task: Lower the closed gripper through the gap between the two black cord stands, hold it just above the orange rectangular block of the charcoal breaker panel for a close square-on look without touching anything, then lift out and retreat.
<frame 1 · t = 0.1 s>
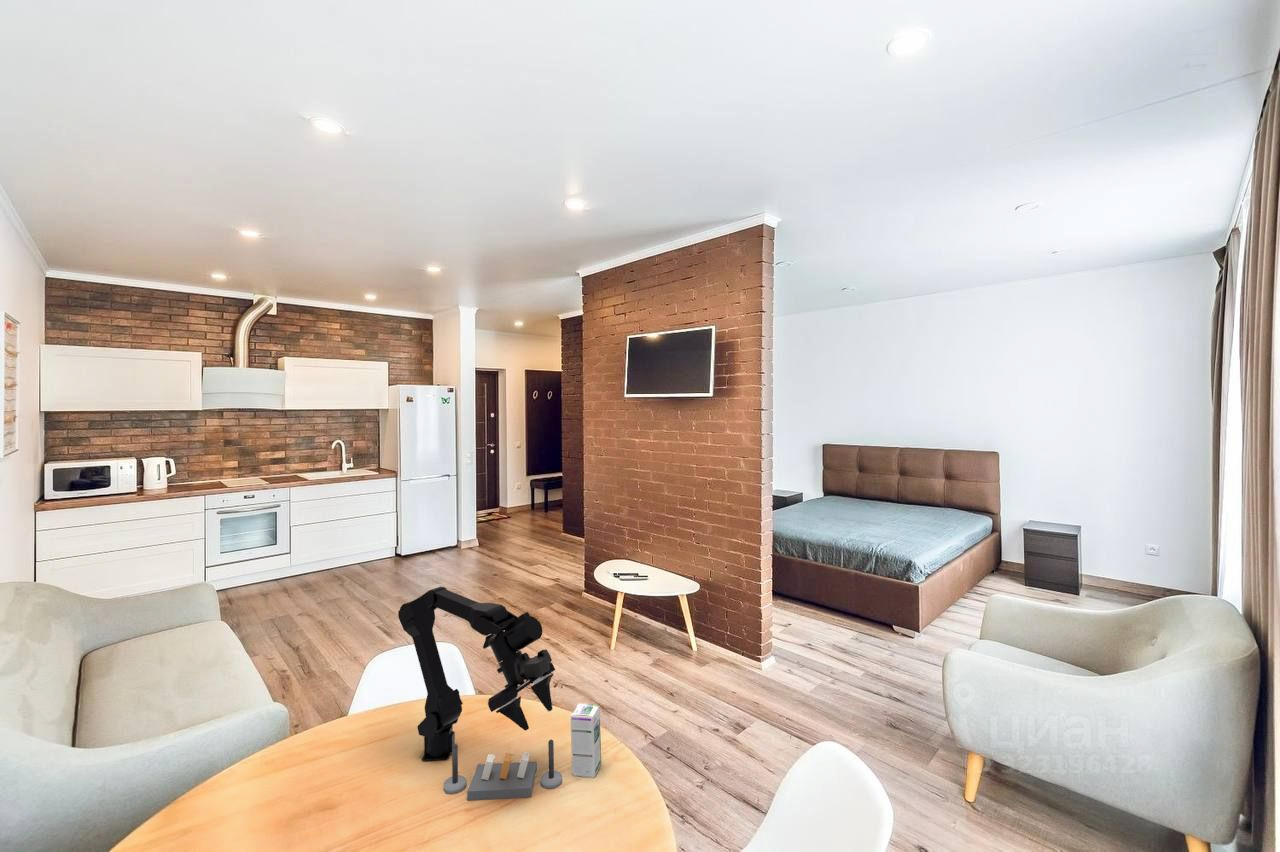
hand: (539, 719, 125), 15 cm above the table, tool tilted 35°, fingers open, 9 cm apart
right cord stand: (551, 782, 126), on the table
syrup box: (586, 770, 130), on the table
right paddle: (523, 765, 126), point 4 cm above the table, hinge at 15.0°
orange rectangular block: (505, 765, 125), point 4 cm above the table, hinge at 15.0°
breaker panel: (503, 784, 125), on the table
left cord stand: (455, 787, 125), on the table
left paddle: (488, 766, 125), point 4 cm above the table, hinge at 15.0°
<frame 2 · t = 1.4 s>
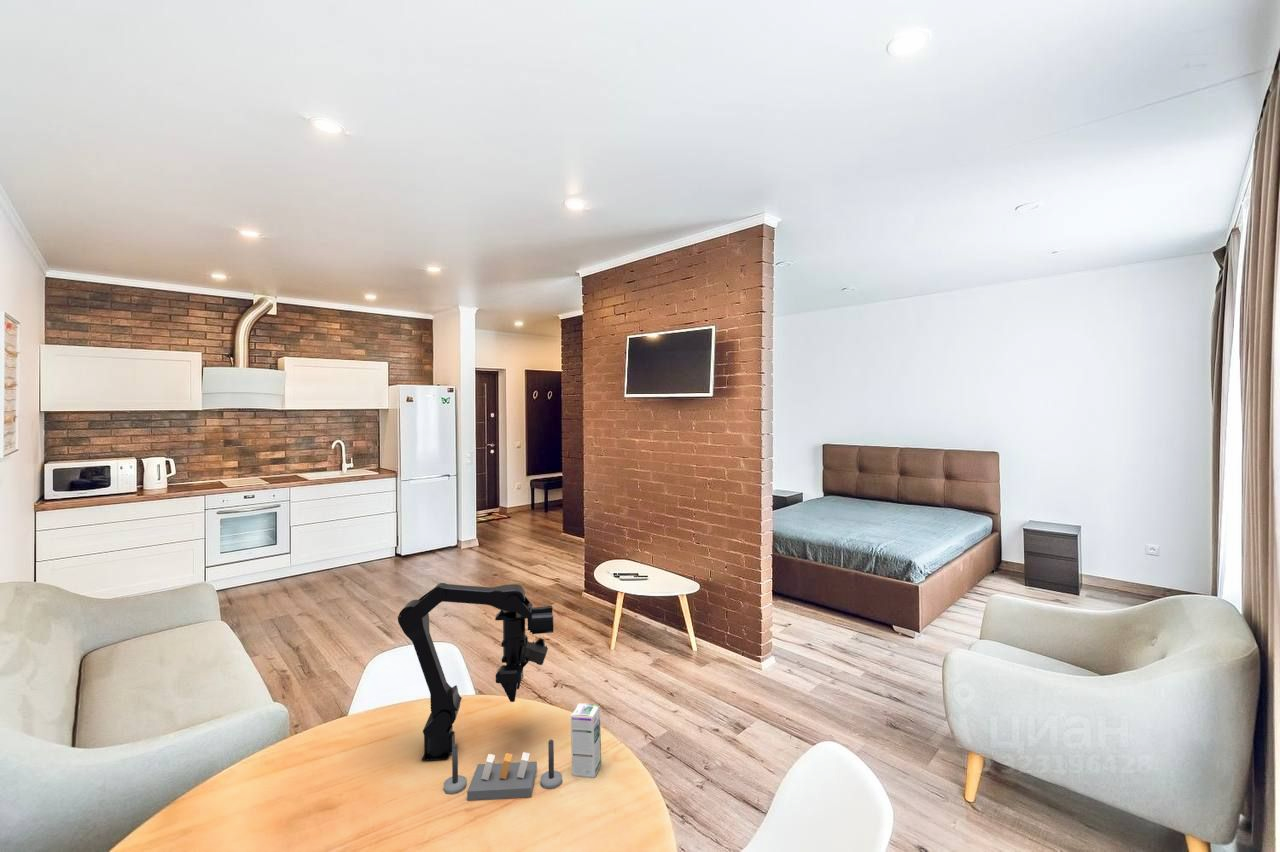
hand: (514, 695, 142), 13 cm above the table, tool pointing down, fingers open, 7 cm apart
nothing on the table moved.
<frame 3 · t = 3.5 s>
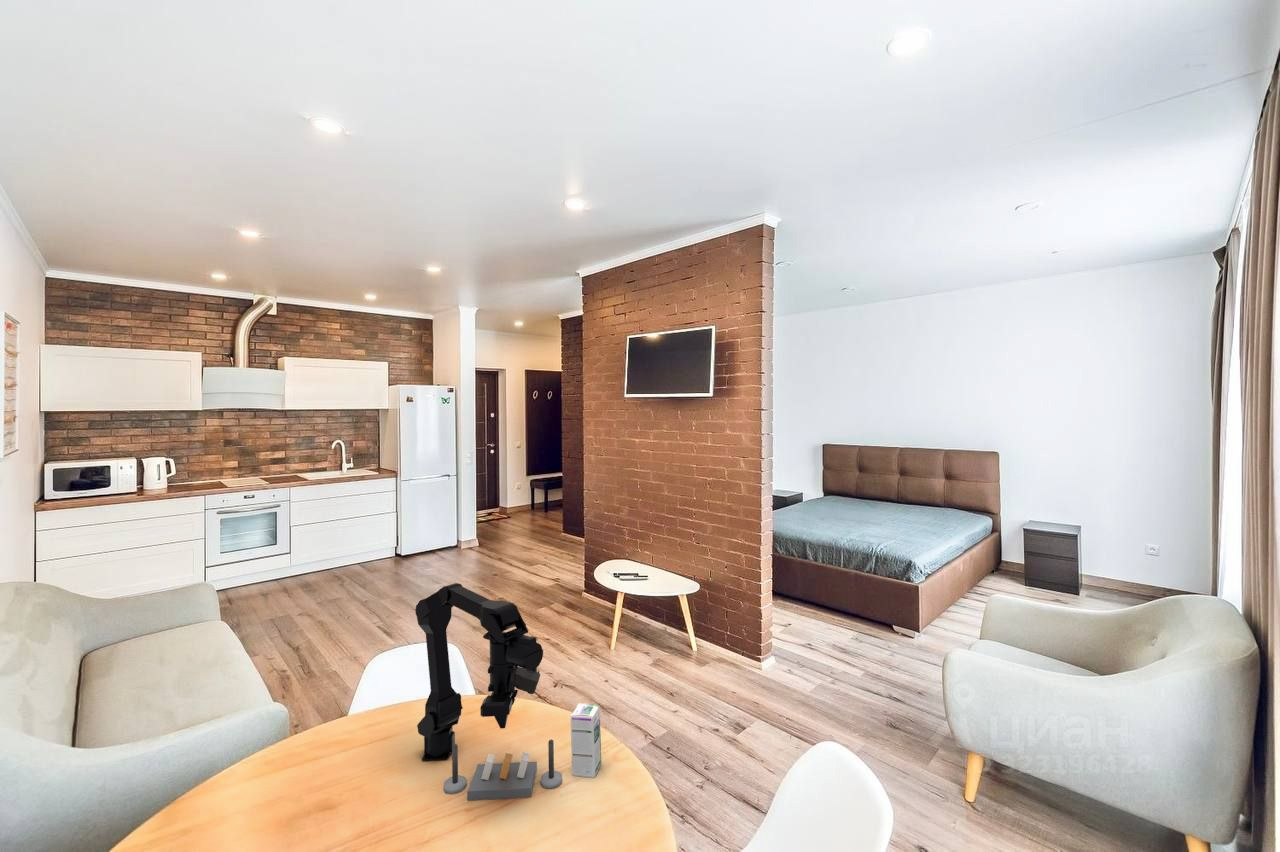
hand: (503, 727, 126), 13 cm above the table, tool pointing down, fingers closed
nothing on the table moved.
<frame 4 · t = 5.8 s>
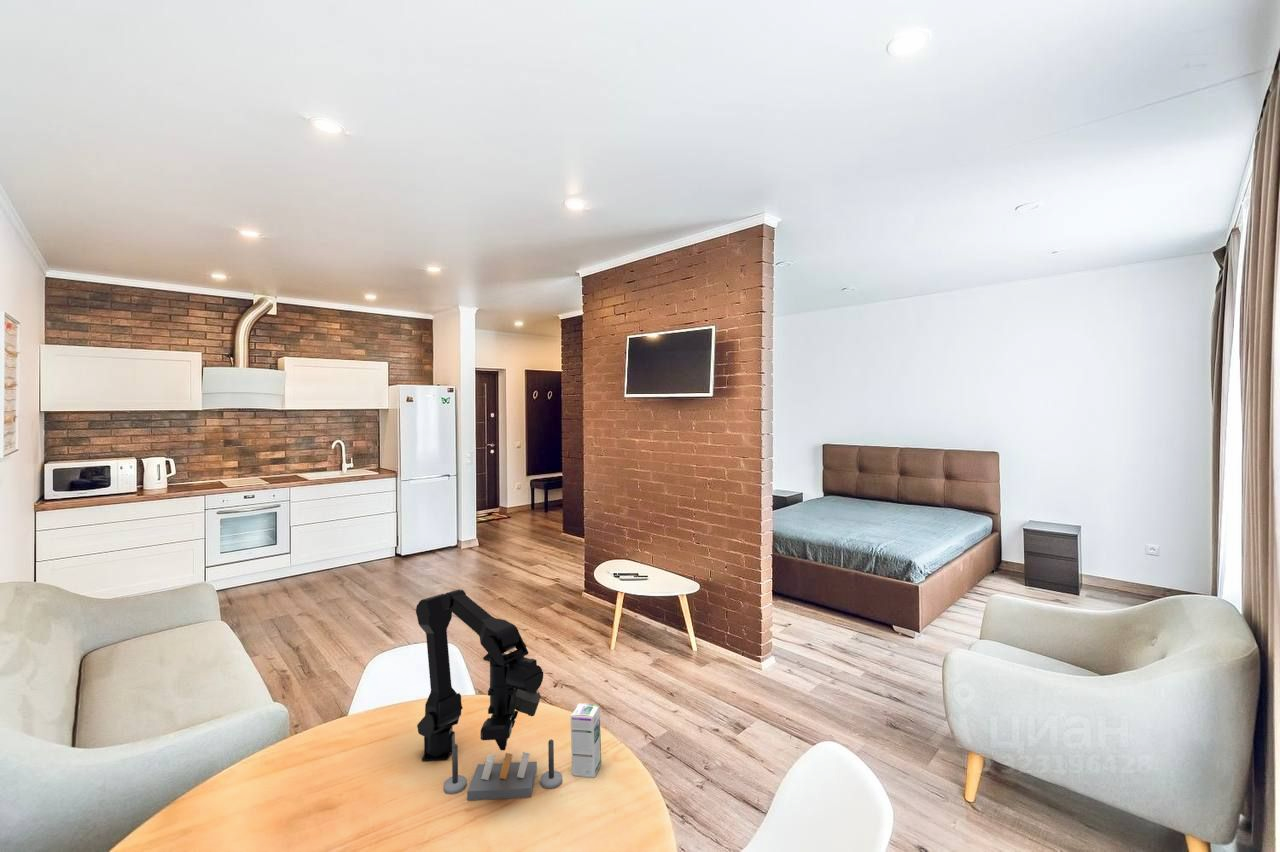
hand: (503, 749, 126), 8 cm above the table, tool pointing down, fingers closed
nothing on the table moved.
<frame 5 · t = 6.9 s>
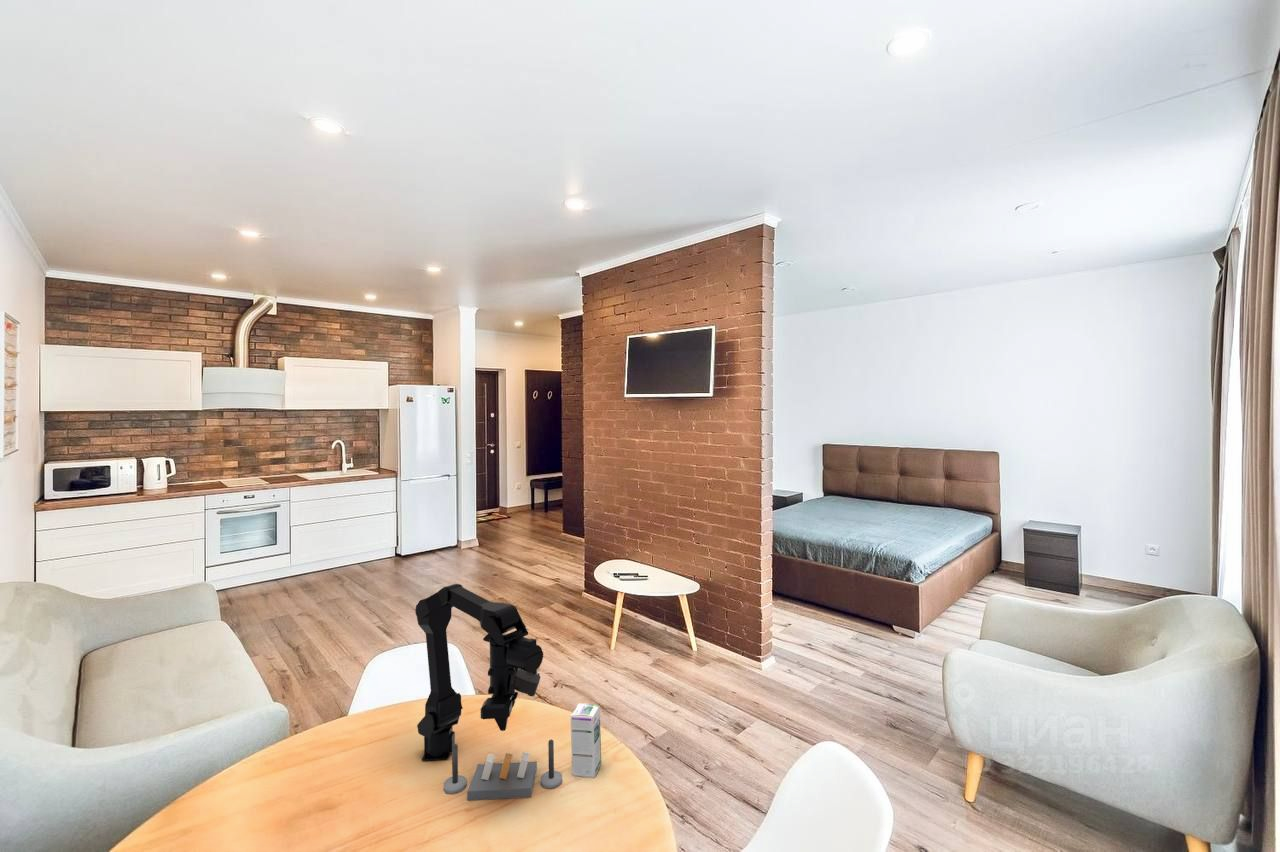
hand: (503, 729, 126), 13 cm above the table, tool pointing down, fingers closed
nothing on the table moved.
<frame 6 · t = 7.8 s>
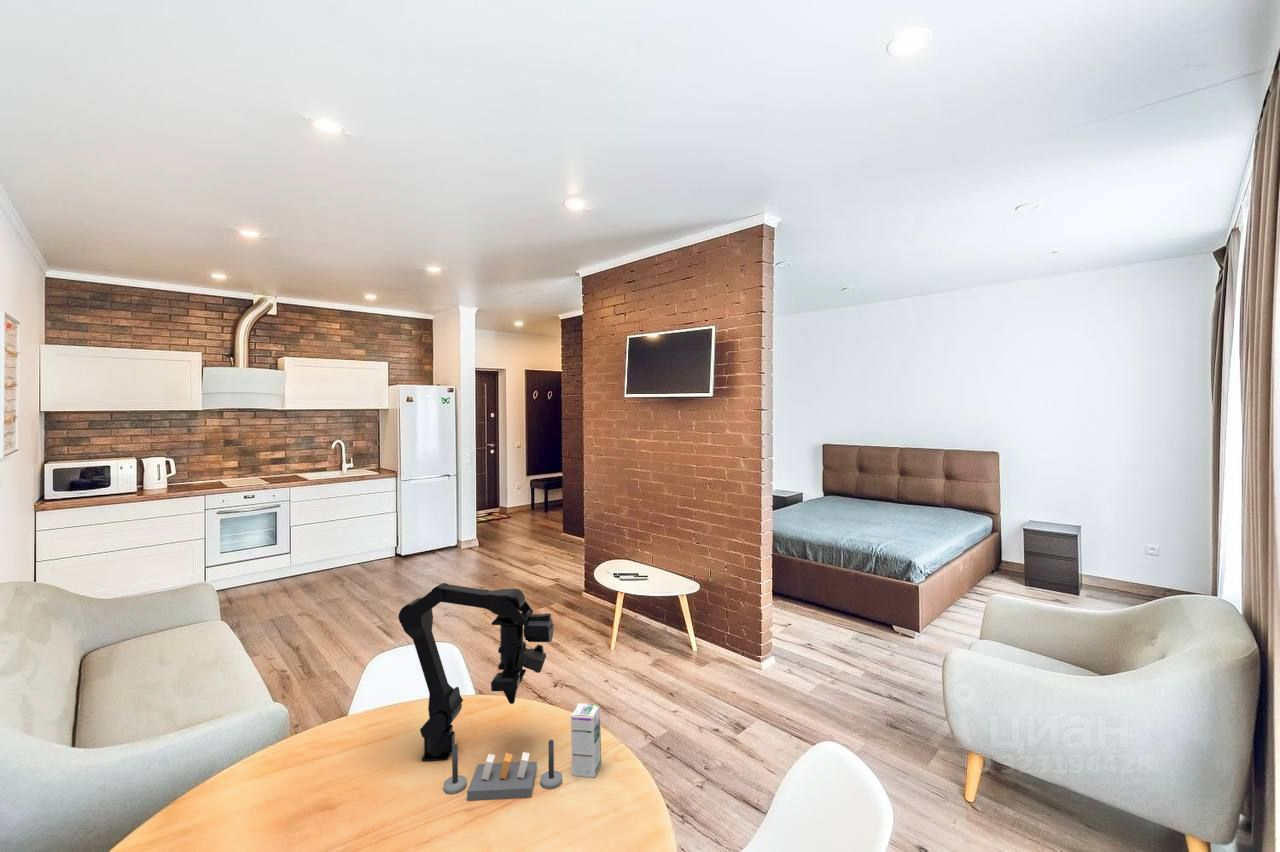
hand: (512, 703, 137), 13 cm above the table, tool pointing down, fingers closed
nothing on the table moved.
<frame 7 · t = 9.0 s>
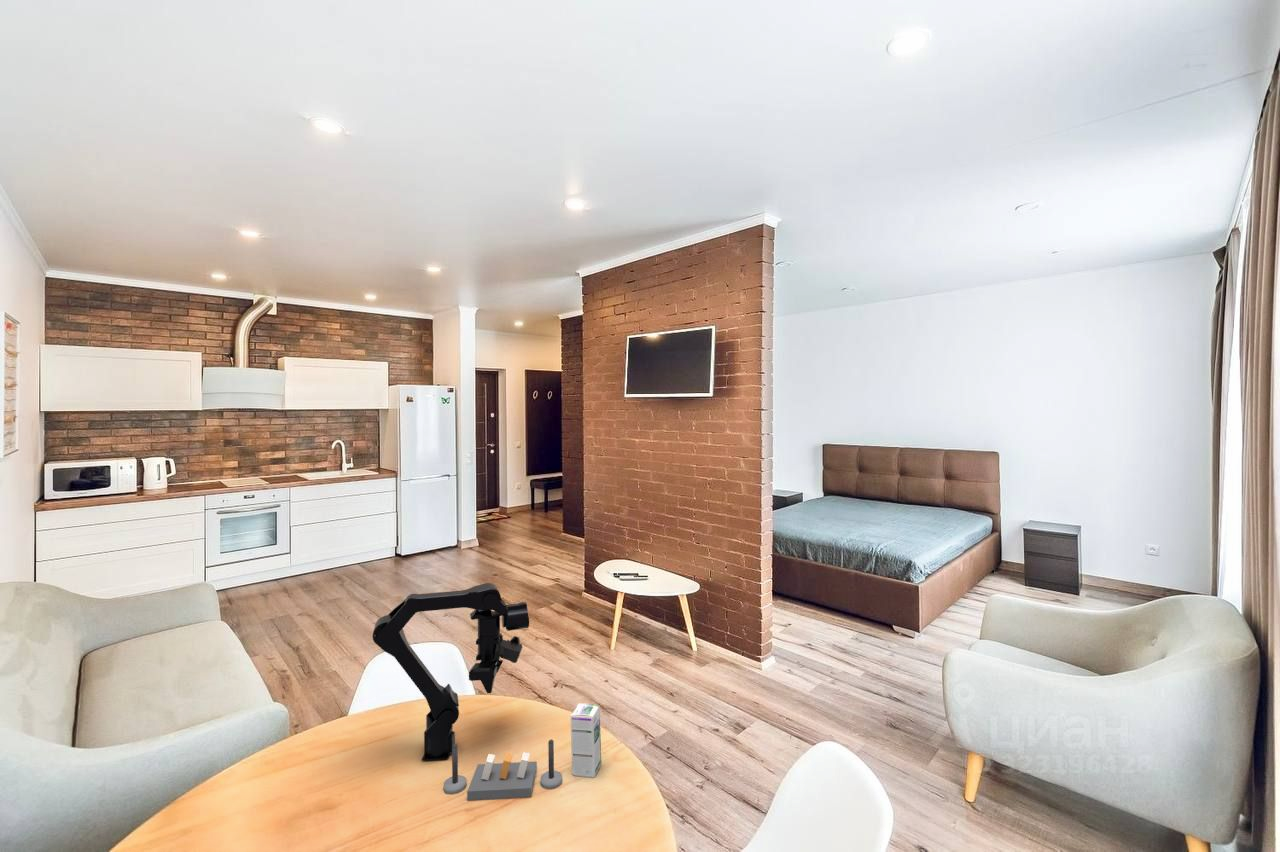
hand: (489, 692, 143), 13 cm above the table, tool pointing down, fingers closed
nothing on the table moved.
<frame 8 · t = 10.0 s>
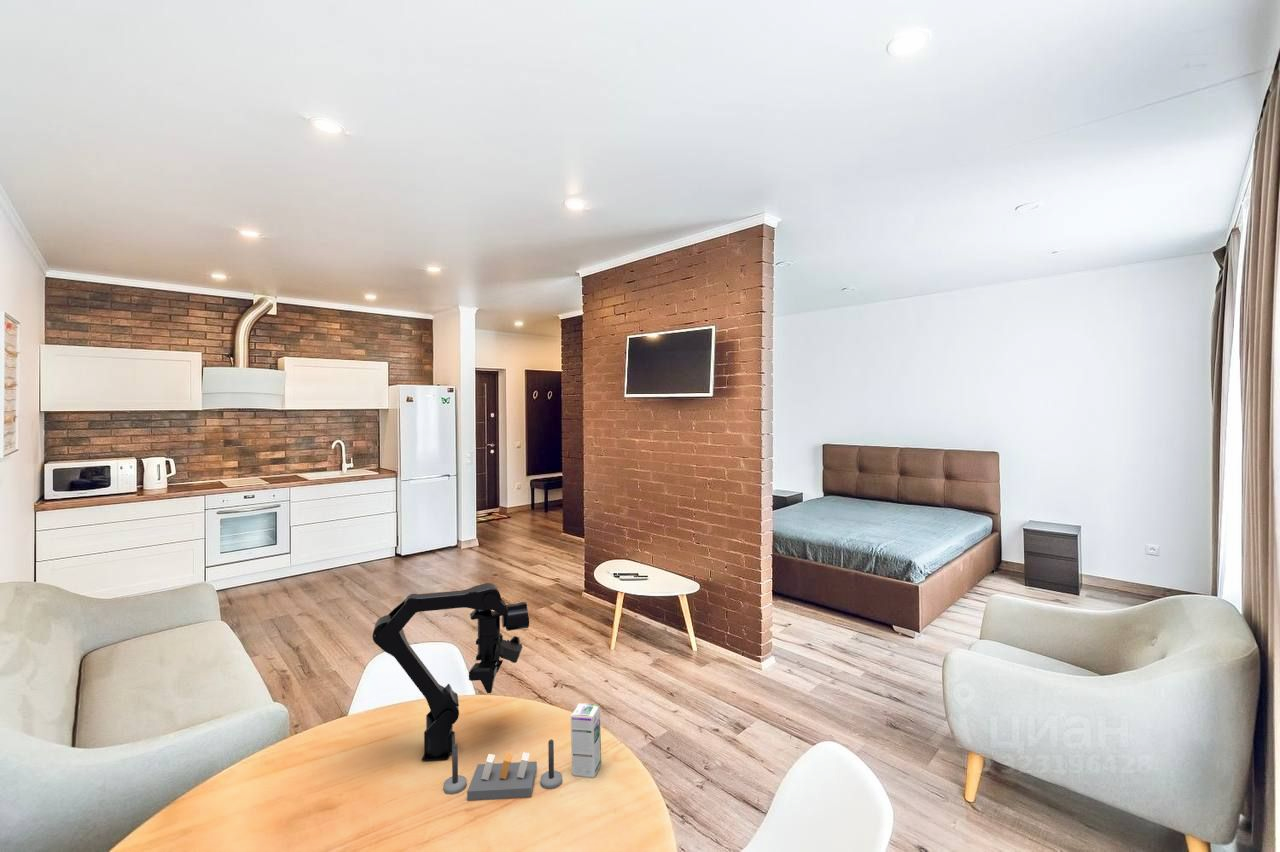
hand: (489, 692, 143), 13 cm above the table, tool pointing down, fingers closed
nothing on the table moved.
at the end: orange rectangular block at +15° (first picture: +15°); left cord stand moved 0.1 cm from its start; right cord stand moved 0.1 cm from its start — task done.
